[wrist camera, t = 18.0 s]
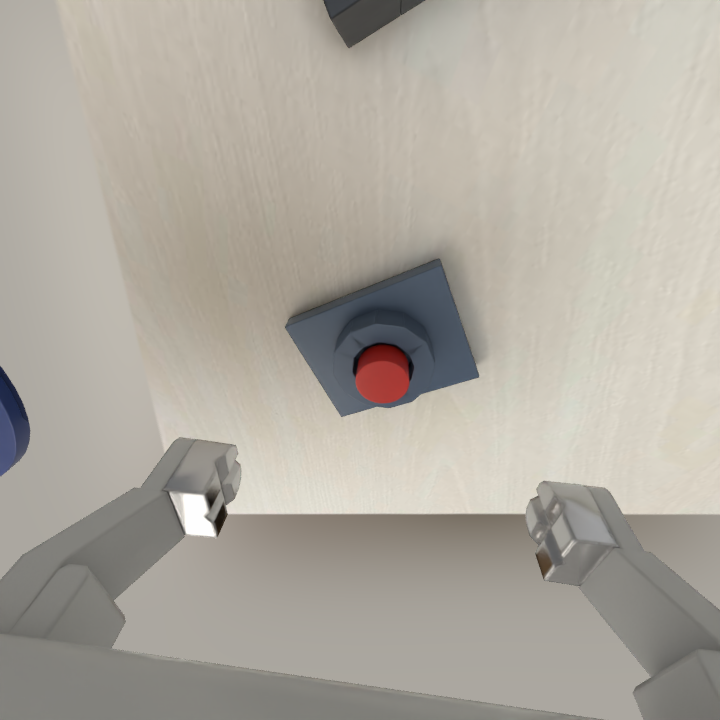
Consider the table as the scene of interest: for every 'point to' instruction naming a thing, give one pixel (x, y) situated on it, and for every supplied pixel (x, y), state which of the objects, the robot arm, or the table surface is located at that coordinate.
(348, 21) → the dock
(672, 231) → the table surface
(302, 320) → the switch block
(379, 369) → the button
